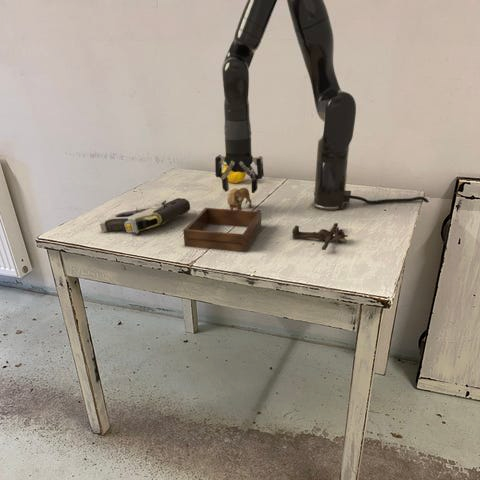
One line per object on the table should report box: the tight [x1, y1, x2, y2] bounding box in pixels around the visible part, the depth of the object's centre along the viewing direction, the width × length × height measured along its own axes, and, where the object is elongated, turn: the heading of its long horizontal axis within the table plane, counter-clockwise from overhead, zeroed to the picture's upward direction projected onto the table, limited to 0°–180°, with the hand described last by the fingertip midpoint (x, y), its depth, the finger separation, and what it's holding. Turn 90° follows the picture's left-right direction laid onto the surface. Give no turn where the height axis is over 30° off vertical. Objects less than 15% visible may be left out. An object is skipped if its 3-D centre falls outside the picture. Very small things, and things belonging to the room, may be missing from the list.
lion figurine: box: [227, 187, 253, 210], centre depth 147 cm, size 15×5×9 cm, turn 165°
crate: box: [182, 207, 263, 253], centre depth 133 cm, size 17×18×4 cm
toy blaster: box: [99, 197, 191, 234], centre depth 142 cm, size 6×25×15 cm
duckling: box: [222, 154, 247, 184], centre depth 174 cm, size 11×5×10 cm, turn 59°
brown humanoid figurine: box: [291, 222, 349, 251], centre depth 129 cm, size 18×4×14 cm
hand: (240, 191), depth 146 cm, fingers open, 8 cm apart
